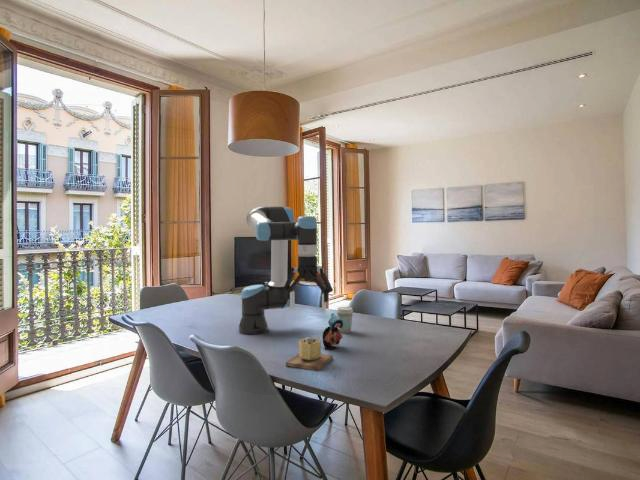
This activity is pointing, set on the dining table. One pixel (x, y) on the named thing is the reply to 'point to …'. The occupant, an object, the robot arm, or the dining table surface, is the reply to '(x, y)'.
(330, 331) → the figurine
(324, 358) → the shaft block
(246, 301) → the robot arm
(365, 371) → the dining table surface
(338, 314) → the coffee cup
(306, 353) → the hub
